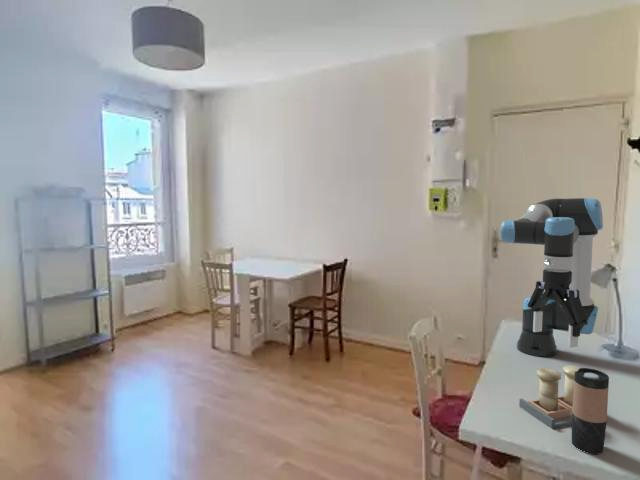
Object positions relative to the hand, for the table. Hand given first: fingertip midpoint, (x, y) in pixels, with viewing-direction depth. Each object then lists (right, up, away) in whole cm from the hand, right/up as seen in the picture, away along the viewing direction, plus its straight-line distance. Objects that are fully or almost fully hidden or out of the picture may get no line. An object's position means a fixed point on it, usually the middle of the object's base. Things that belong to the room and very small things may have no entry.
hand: (554, 338), depth 127 cm
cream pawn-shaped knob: (-2, -22, 0) cm, 22 cm away
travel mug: (0, -25, -16) cm, 30 cm away
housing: (+3, -23, +1) cm, 23 cm away
